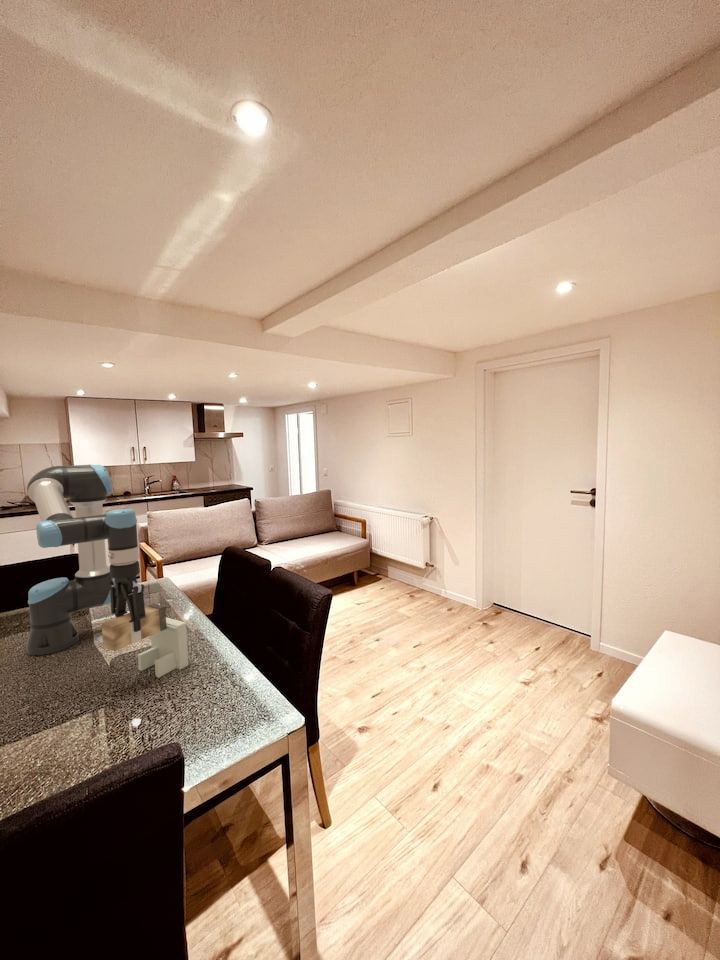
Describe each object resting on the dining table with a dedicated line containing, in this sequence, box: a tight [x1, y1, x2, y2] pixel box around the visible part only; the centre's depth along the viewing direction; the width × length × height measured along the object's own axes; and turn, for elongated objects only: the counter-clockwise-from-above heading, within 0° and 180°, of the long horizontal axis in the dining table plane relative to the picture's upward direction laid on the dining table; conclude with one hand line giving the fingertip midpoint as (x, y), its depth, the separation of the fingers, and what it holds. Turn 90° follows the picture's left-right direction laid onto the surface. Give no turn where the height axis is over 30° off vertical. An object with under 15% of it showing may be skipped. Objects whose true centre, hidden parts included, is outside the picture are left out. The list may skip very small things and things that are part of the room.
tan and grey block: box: [101, 603, 167, 652], centre depth 120 cm, size 16×6×7 cm, turn 151°
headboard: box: [137, 616, 189, 678], centre depth 128 cm, size 14×9×14 cm, turn 61°
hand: (129, 639), depth 119 cm, fingers closed on tan and grey block, 5 cm apart
